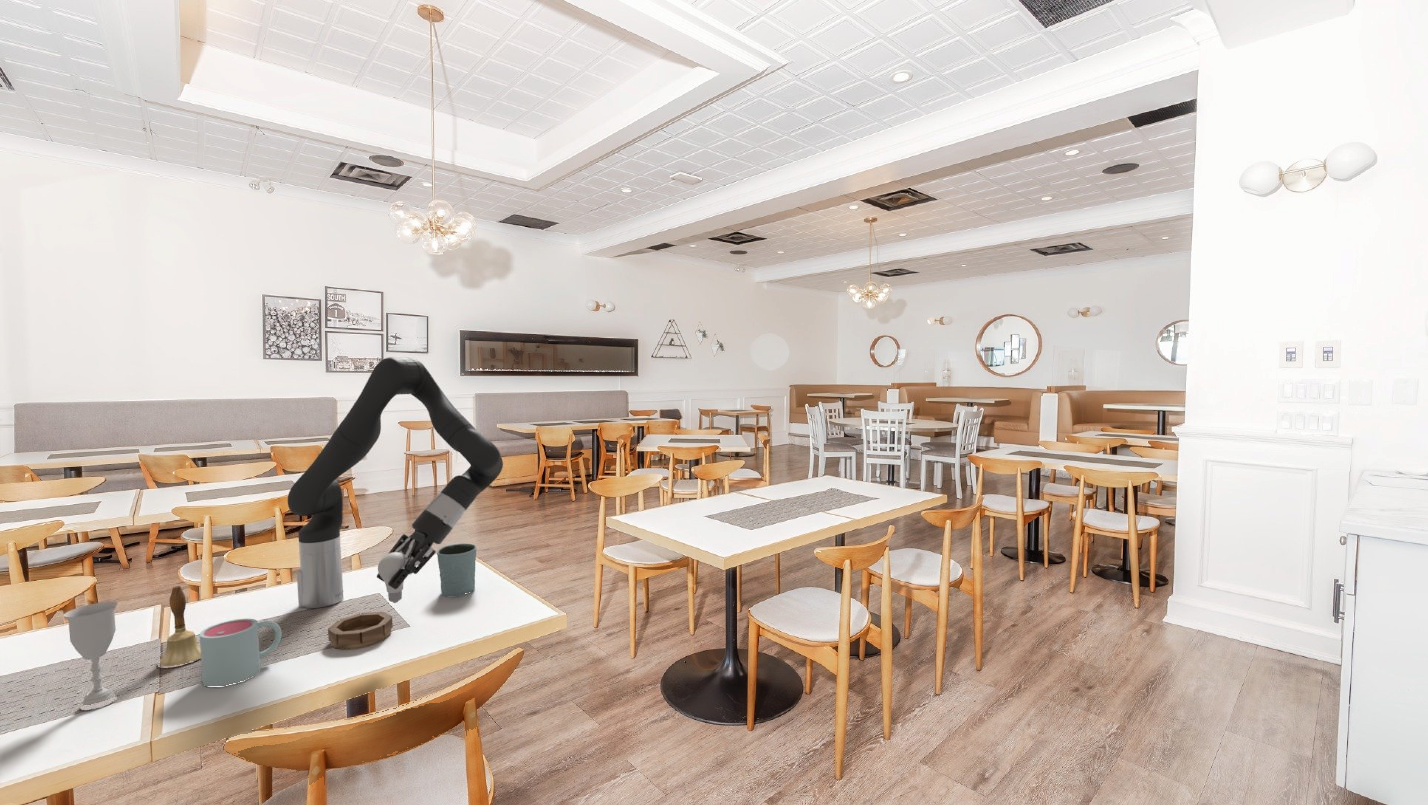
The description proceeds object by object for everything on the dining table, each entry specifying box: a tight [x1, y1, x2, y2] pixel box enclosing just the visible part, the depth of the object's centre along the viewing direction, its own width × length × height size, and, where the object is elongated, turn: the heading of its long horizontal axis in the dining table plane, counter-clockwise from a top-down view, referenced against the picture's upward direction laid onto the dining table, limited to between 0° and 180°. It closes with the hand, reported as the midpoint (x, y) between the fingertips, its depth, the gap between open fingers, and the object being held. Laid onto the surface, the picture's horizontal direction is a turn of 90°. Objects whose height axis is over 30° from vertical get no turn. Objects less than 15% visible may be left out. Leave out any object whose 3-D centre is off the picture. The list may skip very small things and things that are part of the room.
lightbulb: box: [377, 552, 409, 604], centre depth 133 cm, size 6×6×11 cm
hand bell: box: [159, 585, 201, 666], centre depth 131 cm, size 8×8×16 cm
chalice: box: [63, 601, 118, 705], centre depth 114 cm, size 7×7×18 cm
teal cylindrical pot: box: [436, 543, 477, 597], centre depth 169 cm, size 10×10×12 cm
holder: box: [327, 611, 394, 651], centre depth 141 cm, size 12×12×4 cm
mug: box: [199, 618, 283, 687], centre depth 126 cm, size 14×9×10 cm
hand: (386, 583), depth 132 cm, fingers closed on lightbulb, 6 cm apart
